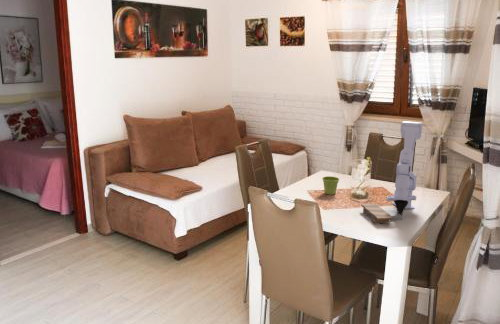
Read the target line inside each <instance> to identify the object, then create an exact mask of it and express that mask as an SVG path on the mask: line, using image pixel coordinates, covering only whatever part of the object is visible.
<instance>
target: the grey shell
mask: <svg viewBox="0 0 500 324" xmlns="http://www.w3.org/2000/svg"><path fill="white" fill-rule="evenodd" d="M383 210H384V209H383ZM384 211H386V212H387V213H388V214H390V215H391V216H392V217H393V219H390V221H397V220H399V221H400V220H401V221H402V219H403V217H402V216H403V214H402V215H400V214H399V213H398V212H397V210H395V209H386V210H384Z"/></svg>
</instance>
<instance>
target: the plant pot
mask: <svg viewBox="0 0 500 324" xmlns="http://www.w3.org/2000/svg"><path fill="white" fill-rule="evenodd" d="M322 181H323V189H324V194H326V195H329V196H333V195H335V194H336V192H337V187H338V183H339V182H340V178H339V177H337V176H324V177H322Z"/></svg>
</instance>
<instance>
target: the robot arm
mask: <svg viewBox="0 0 500 324" xmlns="http://www.w3.org/2000/svg"><path fill="white" fill-rule="evenodd" d="M422 132H423V122H421V121H419V122H417V121H405V120H403V121H401V124H400V135H401V138H402V139H404V141H403V142H404V143H403V149H402V150H401V151H400V153H399V160H398V163H397V165H396V168H395V169H396V172H395V173H396V178H395V183H394V187H395V190H394V193H393V195H388V196H386V197H385V201H387V202H391V204H392V205H394V206H395V207H396V212H398V213H399V214H400V215H402V216H403V212H404V210H407V209H408V210H409V209H415V207H414V206H412V201H417V195H413V191H415V190H416V188H417V175H416V174H415V173H414V172H413V171H412V170H413V162H414V153H415V146H416V142H417V140H420V139H421V137H422Z"/></svg>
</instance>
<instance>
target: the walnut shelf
mask: <svg viewBox="0 0 500 324" xmlns="http://www.w3.org/2000/svg"><path fill="white" fill-rule="evenodd" d="M360 206H361V207H362V209H363V210H362V213H363V214H364V215H366V216H368V217H369V218H370V219H371V220H372V222H373V223H374V224H377V223H379V224H381V223H390V221H391V220H390V219H393V217H392V216H391V215H390V214H388V213H387V212H386V211H384V209H383V208H382V207H380V206H379V204H377V203H361V204H360Z"/></svg>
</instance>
